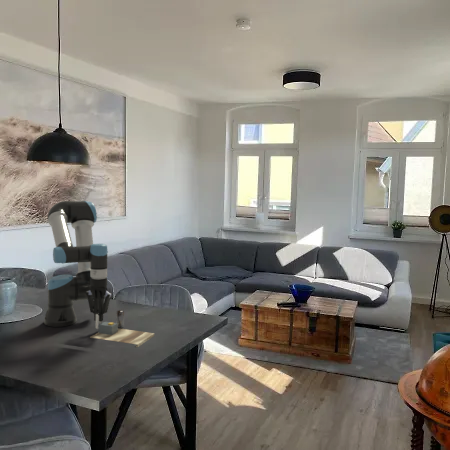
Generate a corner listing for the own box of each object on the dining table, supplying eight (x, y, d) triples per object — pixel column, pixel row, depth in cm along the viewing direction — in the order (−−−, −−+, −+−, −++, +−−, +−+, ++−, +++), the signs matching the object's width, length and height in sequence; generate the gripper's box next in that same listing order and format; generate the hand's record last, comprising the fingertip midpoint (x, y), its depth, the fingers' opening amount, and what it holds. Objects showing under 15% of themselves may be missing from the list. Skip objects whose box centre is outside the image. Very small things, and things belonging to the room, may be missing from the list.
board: (89, 339, 206) (89, 337, 206) (108, 329, 221) (108, 327, 221) (137, 347, 199) (137, 344, 199) (154, 335, 214) (154, 333, 214)
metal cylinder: (115, 330, 220) (115, 311, 219) (118, 328, 224) (119, 309, 223) (121, 331, 219) (121, 312, 218) (125, 329, 222) (125, 310, 222)
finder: (98, 333, 212) (98, 323, 211) (104, 329, 216) (104, 320, 216) (112, 335, 210) (112, 325, 209) (117, 331, 214) (117, 322, 214)
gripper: (81, 277, 211) (81, 328, 212) (106, 280, 207) (106, 331, 208) (91, 275, 218) (91, 324, 220) (115, 277, 214) (115, 327, 216)
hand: (98, 327), depth 214 cm, fingers closed
